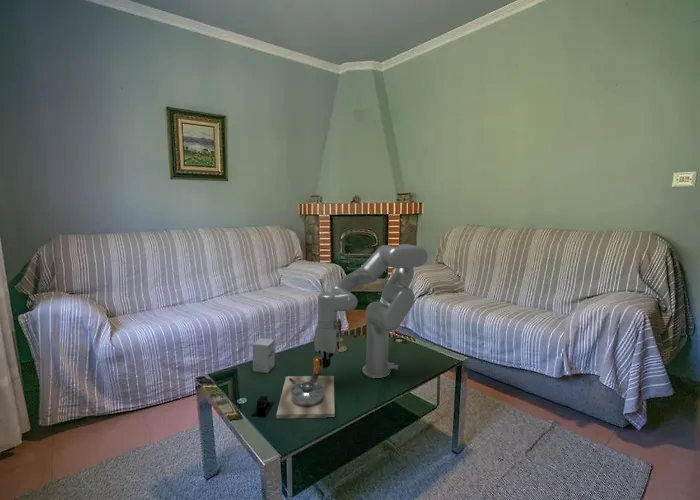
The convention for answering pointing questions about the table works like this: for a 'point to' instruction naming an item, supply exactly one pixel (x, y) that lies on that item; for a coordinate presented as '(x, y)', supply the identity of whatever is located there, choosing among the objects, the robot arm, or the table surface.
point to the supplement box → (263, 355)
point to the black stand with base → (262, 407)
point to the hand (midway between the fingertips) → (326, 366)
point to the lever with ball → (309, 388)
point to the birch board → (317, 411)
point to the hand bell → (342, 346)
